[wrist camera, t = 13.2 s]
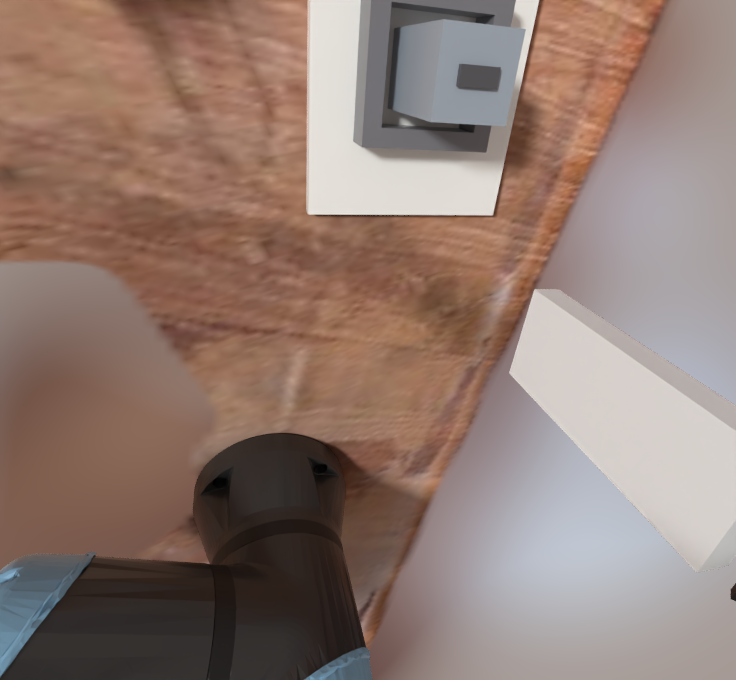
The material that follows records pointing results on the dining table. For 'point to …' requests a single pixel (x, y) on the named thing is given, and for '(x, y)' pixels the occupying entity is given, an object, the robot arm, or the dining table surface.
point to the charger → (455, 71)
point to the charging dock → (395, 115)
